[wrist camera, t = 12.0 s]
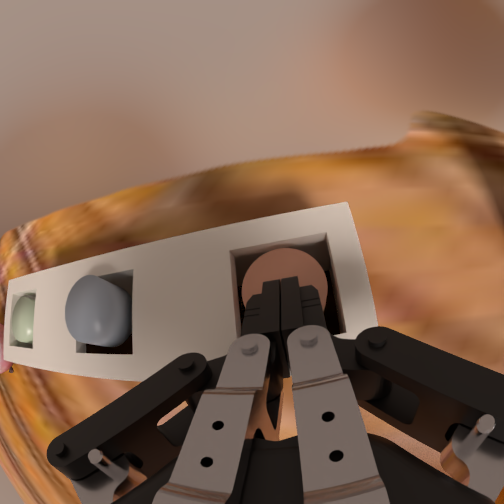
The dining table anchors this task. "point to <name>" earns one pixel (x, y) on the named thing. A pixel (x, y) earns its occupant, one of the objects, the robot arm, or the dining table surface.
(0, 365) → the onion
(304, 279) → the terracotta button
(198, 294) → the block
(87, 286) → the slate button
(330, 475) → the robot arm
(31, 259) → the dining table surface
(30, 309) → the sage button
